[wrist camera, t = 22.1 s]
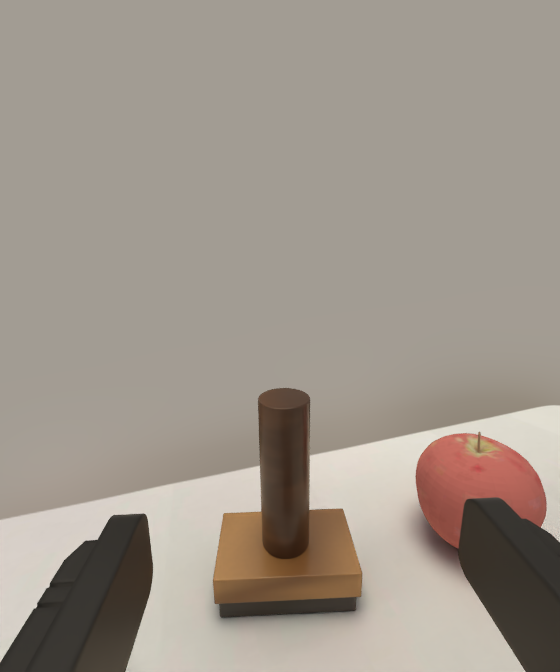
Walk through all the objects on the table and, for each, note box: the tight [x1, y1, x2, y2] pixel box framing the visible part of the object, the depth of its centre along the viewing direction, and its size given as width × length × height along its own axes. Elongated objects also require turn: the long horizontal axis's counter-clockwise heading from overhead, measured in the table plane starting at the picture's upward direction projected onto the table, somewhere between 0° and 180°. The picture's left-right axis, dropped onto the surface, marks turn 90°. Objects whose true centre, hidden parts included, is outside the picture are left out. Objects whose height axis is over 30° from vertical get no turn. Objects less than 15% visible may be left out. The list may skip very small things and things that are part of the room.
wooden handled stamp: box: [213, 388, 362, 617], centre depth 21 cm, size 8×5×12 cm, turn 92°
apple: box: [416, 432, 546, 548], centre depth 24 cm, size 7×7×8 cm
